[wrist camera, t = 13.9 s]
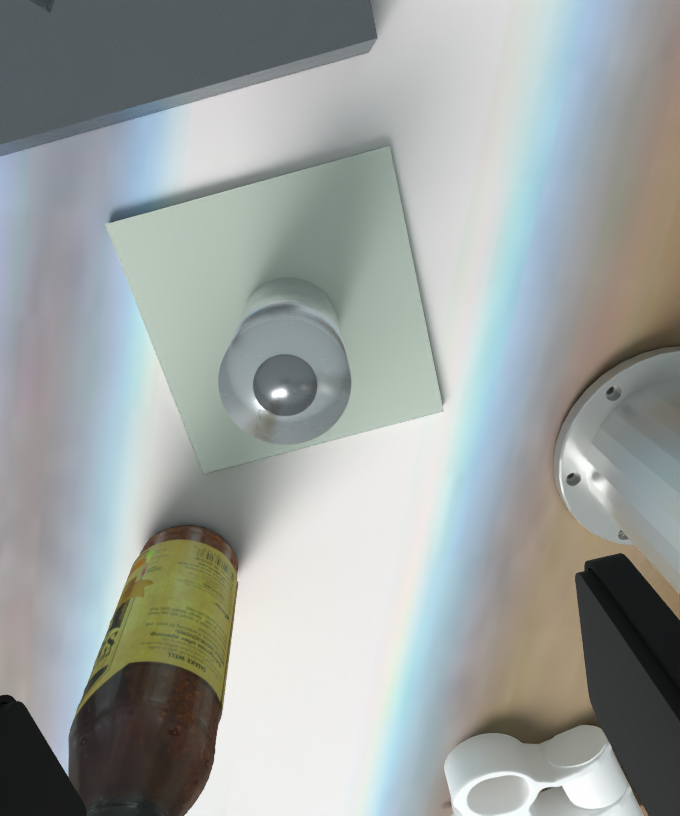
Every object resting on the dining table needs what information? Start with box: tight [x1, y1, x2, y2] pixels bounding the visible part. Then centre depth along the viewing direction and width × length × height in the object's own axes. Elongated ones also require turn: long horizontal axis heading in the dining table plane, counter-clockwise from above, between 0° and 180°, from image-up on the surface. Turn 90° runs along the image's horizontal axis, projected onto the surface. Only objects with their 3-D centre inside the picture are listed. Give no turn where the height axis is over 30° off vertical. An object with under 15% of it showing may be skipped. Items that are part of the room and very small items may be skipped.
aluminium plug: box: [218, 277, 351, 445], centre depth 26 cm, size 5×5×9 cm
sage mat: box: [105, 146, 444, 474], centre depth 31 cm, size 14×14×1 cm
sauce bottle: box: [69, 526, 238, 816], centre depth 27 cm, size 6×6×20 cm
